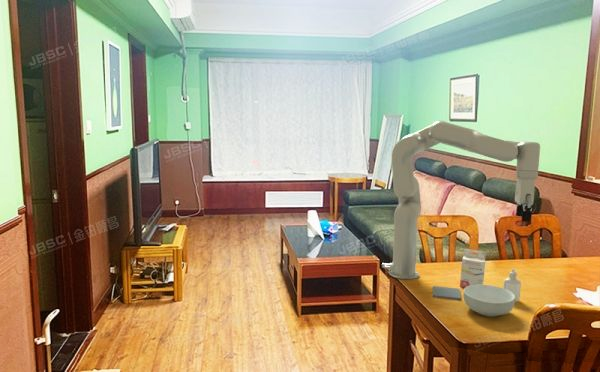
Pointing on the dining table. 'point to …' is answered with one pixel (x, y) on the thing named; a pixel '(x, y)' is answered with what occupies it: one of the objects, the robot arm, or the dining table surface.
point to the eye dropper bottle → (513, 284)
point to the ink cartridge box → (472, 268)
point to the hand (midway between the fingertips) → (523, 218)
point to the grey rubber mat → (446, 293)
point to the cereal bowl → (489, 299)
